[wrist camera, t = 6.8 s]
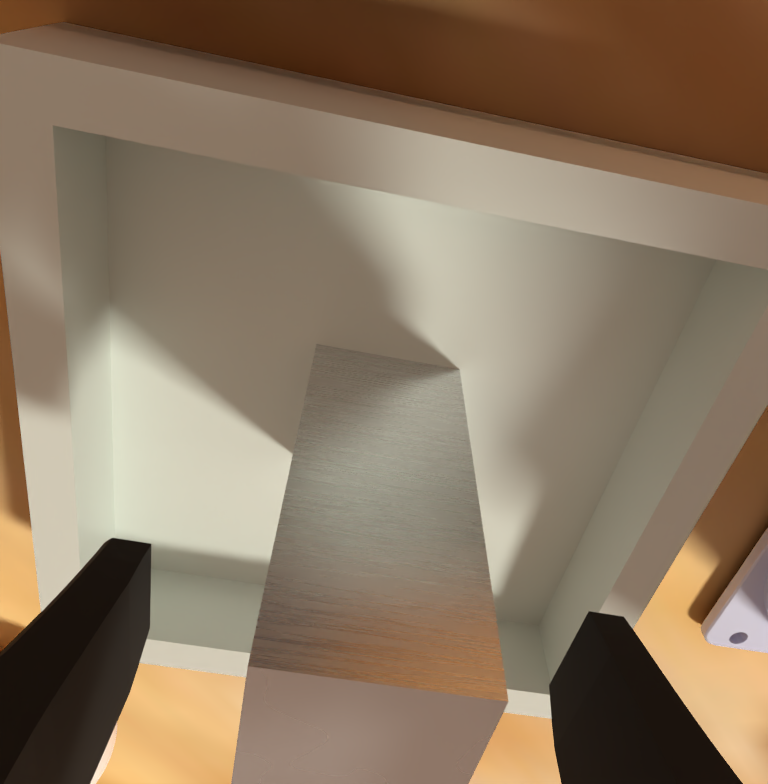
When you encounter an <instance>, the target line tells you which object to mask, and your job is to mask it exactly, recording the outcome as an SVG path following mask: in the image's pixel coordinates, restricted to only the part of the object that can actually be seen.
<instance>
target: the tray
mask: <svg viewBox="0 0 768 784" xmlns="http://www.w3.org/2000/svg"><path fill="white" fill-rule="evenodd" d="M0 253H1V262H2V271H3V280H4V288H5V297H6V306H7V315H8V324H9V333H10V342H11V350H12V359H13V368H14V377H15V386H16V395H17V404H18V413H19V421H20V430H21V439H22V448H23V457H24V466H25V475H26V483H27V492H28V501H29V510H30V519H31V528H32V537H33V545H34V554H35V563H36V572H37V581H38V590H39V599H40V607H41V612H42V611H43V610H44V609H45V608H46V607H47V606H48V605H49V603H50V602H51V601H52V600H53V599H54V598H55V597H56V596H57V595H58V594H59V593H60V592H61V591H62V590H63V589H64V588H65V587H66V586H67V584H68V583H69V582H70V581H71V580H72V579H73V578H74V577H75V576H76V575H77V574H78V572H79V571H80V570H81V569H82V568H83V567H84V566H85V565H86V563H87V562H88V561H89V560H90V559H91V558H92V557H93V555H94V554H95V553H96V552H97V551H98V550H99V548H100V547H101V546H102V545H103V544H104V543H105V542H106V541H107V540H109V539H111V538H118V539H124V540H131V541H137V542H144V543H150V544H151V599H150V629H149V633H148V636H147V639H146V642H145V646H144V649H143V652H142V655H141V659H140V662H139V663H144V664H151V665H159V666H166V667H173V668H181V669H188V670H196V671H203V672H210V673H218V674H225V675H233V676H240V677H246V675H247V668H248V663H249V658H250V653H251V649H252V644H253V639H254V634H255V630H256V625H257V620H258V616H259V611H260V606H261V602H262V597H263V592H264V588H265V583H266V578H267V573H268V569H269V564H270V559H271V555H272V550H273V545H274V541H275V536H276V531H277V527H278V522H279V517H280V512H281V508H282V503H283V498H284V494H285V489H286V484H287V480H288V475H289V470H290V466H291V461H292V456H293V452H294V447H295V442H296V437H297V433H298V428H299V423H300V419H301V414H302V409H303V405H304V400H305V395H306V391H307V386H308V381H309V376H310V372H311V367H312V362H313V358H314V353H315V348H316V344H321V345H326V346H332V347H338V348H343V349H349V350H354V351H360V352H366V353H371V354H377V355H382V356H388V357H394V358H399V359H405V360H410V361H416V362H422V363H427V364H433V365H438V366H444V367H449V368H455V369H460V376H461V383H462V389H463V396H464V403H465V410H466V416H467V423H468V430H469V437H470V444H471V450H472V457H473V464H474V471H475V478H476V484H477V491H478V498H479V505H480V512H481V518H482V525H483V532H484V539H485V545H486V552H487V559H488V566H489V573H490V579H491V586H492V593H493V600H494V607H495V613H496V620H497V627H498V634H499V641H500V647H501V654H502V661H503V668H504V674H505V681H506V688H507V695H508V704H507V706H506V708H505V710H504V712H506V713H513V714H521V715H528V716H535V717H543V718H550V719H552V717H551V704H550V691H549V684H550V683H551V681H552V679H553V677H554V675H555V673H556V671H557V669H558V668H559V666H560V664H561V662H562V660H563V658H564V656H565V655H566V653H567V651H568V649H569V647H570V645H571V643H572V642H573V640H574V638H575V636H576V634H577V632H578V630H579V628H580V627H581V625H582V623H583V621H584V619H585V617H586V615H587V614H588V612H589V611H591V612H597V613H604V614H610V615H617V616H623V617H624V618H625V619H626V620H627V622H628V623H629V625H630V626H631V628H632V629H633V628H634V626H635V624H636V623H637V621H638V620H639V618H640V616H641V615H642V613H643V611H644V610H645V608H646V606H647V605H648V603H649V601H650V600H651V598H652V596H653V595H654V593H655V591H656V590H657V588H658V586H659V585H660V583H661V581H662V580H663V578H664V576H665V575H666V573H667V571H668V570H669V568H670V566H671V565H672V563H673V561H674V560H675V558H676V556H677V555H678V553H679V551H680V550H681V548H682V546H683V545H684V543H685V541H686V540H687V538H688V536H689V535H690V533H691V532H692V530H693V528H694V527H695V525H696V523H697V522H698V520H699V518H700V517H701V515H702V513H703V512H704V510H705V508H706V507H707V505H708V503H709V502H710V500H711V498H712V497H713V495H714V493H715V492H716V490H717V488H718V487H719V485H720V483H721V482H722V480H723V478H724V477H725V475H726V473H727V472H728V470H729V468H730V467H731V465H732V463H733V462H734V460H735V458H736V457H737V455H738V453H739V452H740V450H741V448H742V447H743V445H744V443H745V442H746V440H747V439H748V437H749V435H750V434H751V432H752V430H753V429H754V427H755V425H756V424H757V422H758V420H759V419H760V417H761V415H762V414H763V412H764V410H765V409H766V407H767V405H768V174H767V173H763V172H758V171H754V170H749V169H744V168H740V167H735V166H730V165H726V164H721V163H716V162H712V161H707V160H702V159H698V158H693V157H689V156H684V155H679V154H675V153H670V152H665V151H661V150H656V149H651V148H647V147H642V146H637V145H633V144H628V143H624V142H619V141H614V140H610V139H605V138H600V137H596V136H591V135H586V134H582V133H577V132H572V131H568V130H563V129H559V128H554V127H549V126H545V125H540V124H535V123H531V122H526V121H521V120H517V119H512V118H507V117H503V116H498V115H494V114H489V113H484V112H480V111H475V110H470V109H466V108H461V107H456V106H452V105H447V104H442V103H438V102H433V101H429V100H424V99H419V98H415V97H410V96H405V95H401V94H396V93H391V92H387V91H382V90H377V89H373V88H368V87H364V86H359V85H354V84H350V83H345V82H340V81H336V80H331V79H326V78H322V77H317V76H312V75H308V74H303V73H299V72H294V71H289V70H285V69H280V68H275V67H271V66H266V65H261V64H257V63H252V62H247V61H243V60H238V59H234V58H229V57H224V56H220V55H215V54H210V53H206V52H201V51H196V50H192V49H187V48H182V47H178V46H173V45H169V44H164V43H159V42H155V41H150V40H145V39H141V38H136V37H131V36H127V35H122V34H117V33H113V32H108V31H104V30H99V29H94V28H90V27H85V26H80V25H76V24H71V23H66V22H60V23H55V24H49V25H44V26H39V27H34V28H29V29H23V30H18V31H13V32H8V33H3V34H0Z"/></svg>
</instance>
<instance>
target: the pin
mask: <svg viewBox="0 0 768 784" xmlns="http://www.w3.org/2000/svg"><path fill="white" fill-rule="evenodd" d="M507 704H508V695H507V688H506V681H505V674H504V668H503V661H502V654H501V647H500V641H499V634H498V627H497V620H496V613H495V607H494V600H493V593H492V586H491V579H490V573H489V566H488V559H487V552H486V545H485V539H484V532H483V525H482V518H481V512H480V505H479V498H478V491H477V484H476V478H475V471H474V464H473V457H472V450H471V444H470V437H469V430H468V423H467V416H466V410H465V403H464V396H463V389H462V383H461V376H460V369H455V368H449V367H444V366H438V365H433V364H427V363H422V362H416V361H410V360H405V359H399V358H394V357H388V356H382V355H377V354H371V353H366V352H360V351H354V350H349V349H343V348H338V347H332V346H326V345H321V344H316V348H315V353H314V358H313V362H312V367H311V372H310V376H309V381H308V386H307V391H306V395H305V400H304V405H303V409H302V414H301V419H300V423H299V428H298V433H297V437H296V442H295V447H294V452H293V456H292V461H291V466H290V470H289V475H288V480H287V484H286V489H285V494H284V498H283V503H282V508H281V512H280V517H279V522H278V527H277V531H276V536H275V541H274V545H273V550H272V555H271V559H270V564H269V569H268V573H267V578H266V583H265V588H264V592H263V597H262V602H261V606H260V611H259V616H258V620H257V625H256V630H255V634H254V639H253V644H252V649H251V653H250V658H249V663H248V668H247V675H246V682H245V689H244V697H243V704H242V711H241V718H240V725H239V733H238V740H237V747H236V754H235V761H234V769H233V776H232V783H231V784H468V783H469V781H470V779H471V777H472V775H473V773H474V771H475V769H476V767H477V765H478V763H479V761H480V759H481V757H482V755H483V753H484V751H485V749H486V746H487V744H488V742H489V740H490V738H491V736H492V734H493V732H494V730H495V728H496V726H497V724H498V722H499V720H500V718H501V716H502V714H503V712H504V710H505V708H506V706H507Z"/></svg>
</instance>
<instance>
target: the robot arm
mask: <svg viewBox="0 0 768 784" xmlns="http://www.w3.org/2000/svg"><path fill="white" fill-rule="evenodd" d="M150 599H151V544H150V543H144V542H137V541H131V540H124V539H118V538H111V539H109V540H107V541H106V542H105V543H104V544H103V545H102V546H101V547H100V548H99V550H98V551H97V552H96V553H95V554H94V555H93V557H92V558H91V559H90V560H89V561H88V562H87V563H86V565H85V566H84V567H83V568H82V569H81V570H80V571H79V572H78V574H77V575H76V576H75V577H74V578H73V579H72V580H71V581H70V582H69V583H68V584H67V586H66V587H65V588H64V589H63V590H62V591H61V592H60V593H59V594H58V595H57V596H56V597H55V598H54V599H53V600H52V601H51V602H50V603H49V605H48V606H47V607H46V608H45V609H44V610H43V611H42V612H41V613H40V614H39V615H38V616H37V617H36V618H35V619H34V620H33V621H32V622H31V623H30V624H29V625H28V626H27V627H26V628H25V629H24V630H23V631H22V632H21V633H20V634H19V635H18V636H17V637H16V638H15V639H14V640H13V641H12V642H11V643H10V644H9V645H8V646H7V647H6V648H4V649H3V650H2V651H1V652H0V784H90V783H91V781H92V778H93V776H94V774H95V771H96V769H97V767H98V765H99V762H100V760H101V758H102V755H103V753H104V751H105V749H106V746H107V744H108V742H109V739H110V737H111V735H112V732H113V730H114V728H115V725H116V723H117V721H118V718H119V716H120V714H121V711H122V709H123V707H124V704H125V702H126V700H127V697H128V695H129V693H130V690H131V687H132V684H133V681H134V677H135V674H136V671H137V668H138V665H139V662H140V659H141V655H142V652H143V649H144V646H145V642H146V639H147V636H148V633H149V629H150ZM701 631H702V634H703V636H704V638H705V640H706V641H707V642H708V643H710V644H713V645H717V646H724V647H730V648H737V649H744V650H751V651H757V652H764V653H768V528H767V529H766V531H765V532H764V534H763V535H762V536H761V538H760V539H759V541H758V542H757V544H756V545H755V547H754V548H753V550H752V551H751V553H750V554H749V556H748V557H747V558H746V560H745V561H744V563H743V564H742V566H741V567H740V569H739V570H738V572H737V573H736V575H735V576H734V578H733V579H732V580H731V582H730V583H729V585H728V586H727V588H726V589H725V591H724V592H723V594H722V595H721V597H720V598H719V600H718V601H717V602H716V604H715V605H714V607H713V608H712V610H711V611H710V613H709V614H708V616H707V617H706V619H705V620H704V622H703V623H702V625H701ZM549 691H550V704H551V717H552V727H553V737H554V746H555V753H556V758H557V763H558V768H559V773H560V778H561V783H562V784H743V783H742V782H741V781H740V779H739V778H738V777H737V776H736V774H735V773H734V772H733V770H732V769H731V768H730V766H729V765H728V764H727V762H726V761H725V760H724V758H723V757H722V756H721V754H720V753H719V752H718V750H717V749H716V748H715V746H714V745H713V743H712V742H711V741H710V739H709V738H708V737H707V735H706V734H705V733H704V731H703V730H702V728H701V727H700V726H699V724H698V723H697V721H696V720H695V719H694V717H693V716H692V714H691V713H690V712H689V710H688V709H687V707H686V706H685V704H684V703H683V702H682V700H681V699H680V697H679V696H678V694H677V693H676V692H675V690H674V689H673V687H672V686H671V684H670V683H669V681H668V680H667V679H666V677H665V676H664V674H663V673H662V671H661V670H660V668H659V667H658V665H657V664H656V662H655V661H654V660H653V658H652V657H651V655H650V654H649V652H648V651H647V649H646V648H645V646H644V645H643V643H642V642H641V641H640V639H639V638H638V636H637V635H636V633H635V632H634V630H633V629H632V628H631V626H630V625H629V623H628V622H627V620H626V619H625V618H624V617H623V616H617V615H610V614H604V613H597V612H591V611H589V612H588V614H587V615H586V617H585V619H584V621H583V623H582V625H581V627H580V628H579V630H578V632H577V634H576V636H575V638H574V640H573V642H572V643H571V645H570V647H569V649H568V651H567V653H566V655H565V656H564V658H563V660H562V662H561V664H560V666H559V668H558V669H557V671H556V673H555V675H554V677H553V679H552V681H551V683H550V684H549Z"/></svg>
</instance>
